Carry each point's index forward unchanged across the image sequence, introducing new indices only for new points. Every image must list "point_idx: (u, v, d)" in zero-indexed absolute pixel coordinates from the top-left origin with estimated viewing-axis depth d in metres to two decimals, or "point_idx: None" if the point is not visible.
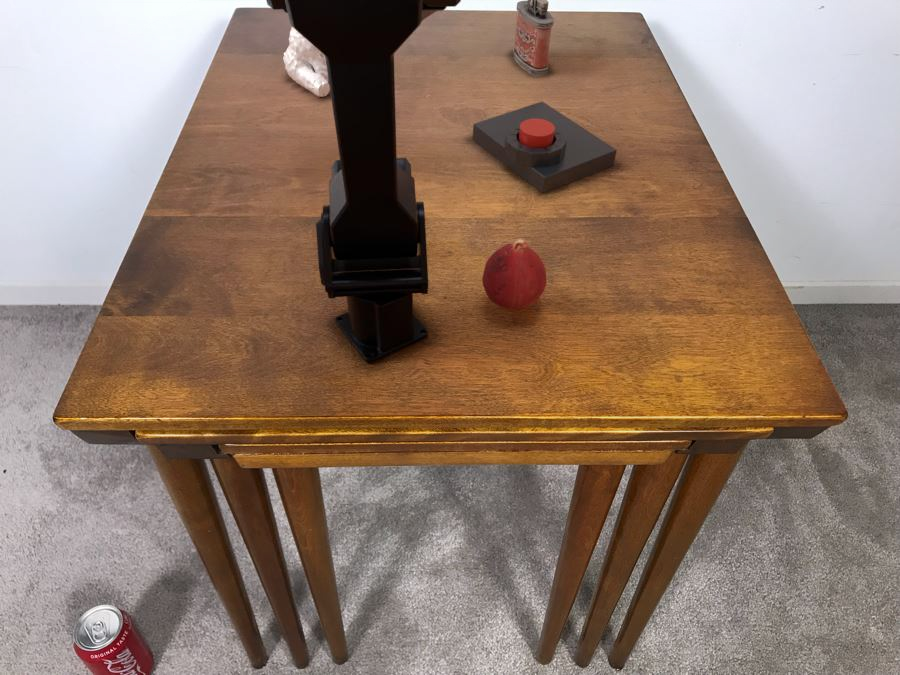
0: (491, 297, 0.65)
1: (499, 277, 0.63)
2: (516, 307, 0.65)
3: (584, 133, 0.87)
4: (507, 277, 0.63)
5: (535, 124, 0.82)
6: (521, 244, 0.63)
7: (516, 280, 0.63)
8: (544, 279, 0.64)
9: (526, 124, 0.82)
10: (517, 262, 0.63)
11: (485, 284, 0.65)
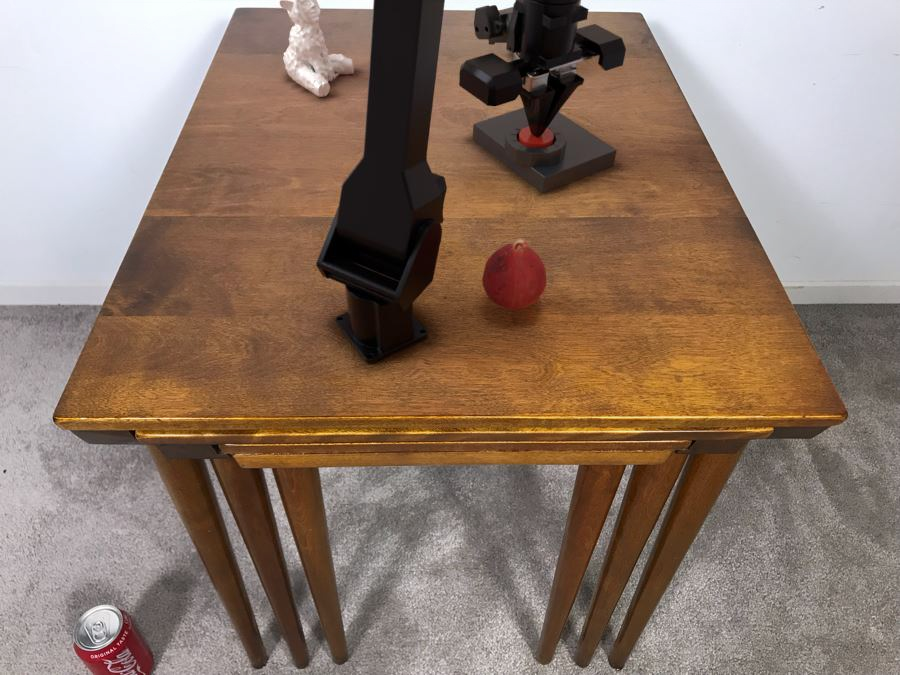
0: (491, 297, 0.65)
1: (499, 277, 0.63)
2: (516, 307, 0.65)
3: (584, 133, 0.87)
4: (507, 277, 0.63)
5: None
6: (521, 244, 0.63)
7: (516, 280, 0.63)
8: (544, 279, 0.64)
9: (525, 131, 0.83)
10: (517, 262, 0.63)
11: (485, 284, 0.65)
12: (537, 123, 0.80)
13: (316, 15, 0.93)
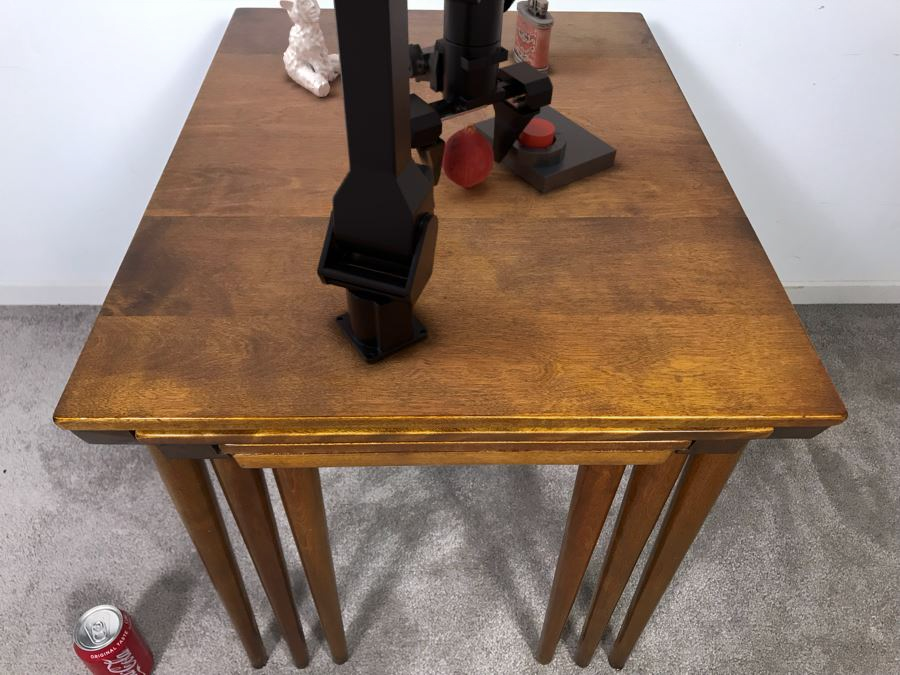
0: (448, 174, 0.79)
1: (454, 154, 0.77)
2: (468, 182, 0.79)
3: (584, 133, 0.87)
4: (459, 154, 0.77)
5: (535, 124, 0.82)
6: (471, 126, 0.76)
7: (467, 157, 0.77)
8: (491, 158, 0.78)
9: None
10: (467, 141, 0.77)
11: (443, 163, 0.79)
12: (432, 173, 0.77)
13: (316, 15, 0.93)
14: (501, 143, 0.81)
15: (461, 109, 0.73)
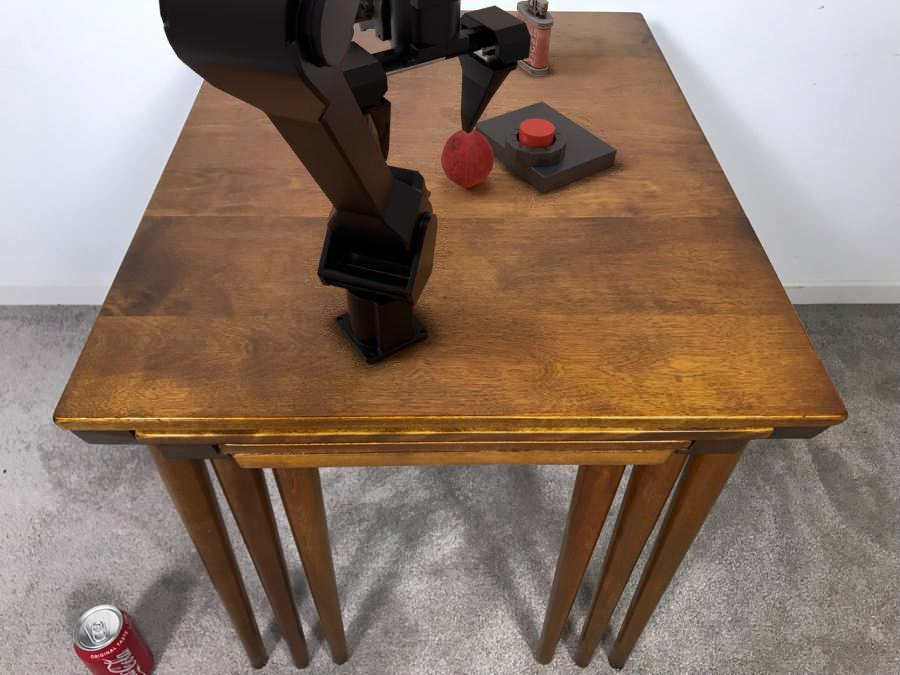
0: (448, 174, 0.79)
1: (454, 154, 0.77)
2: (468, 182, 0.79)
3: (584, 133, 0.87)
4: (459, 154, 0.77)
5: (535, 124, 0.82)
6: None
7: (467, 156, 0.77)
8: (491, 158, 0.78)
9: (526, 124, 0.82)
10: (467, 141, 0.77)
11: (443, 163, 0.79)
12: (379, 144, 0.61)
13: None
14: (470, 108, 0.65)
15: (412, 62, 0.58)
